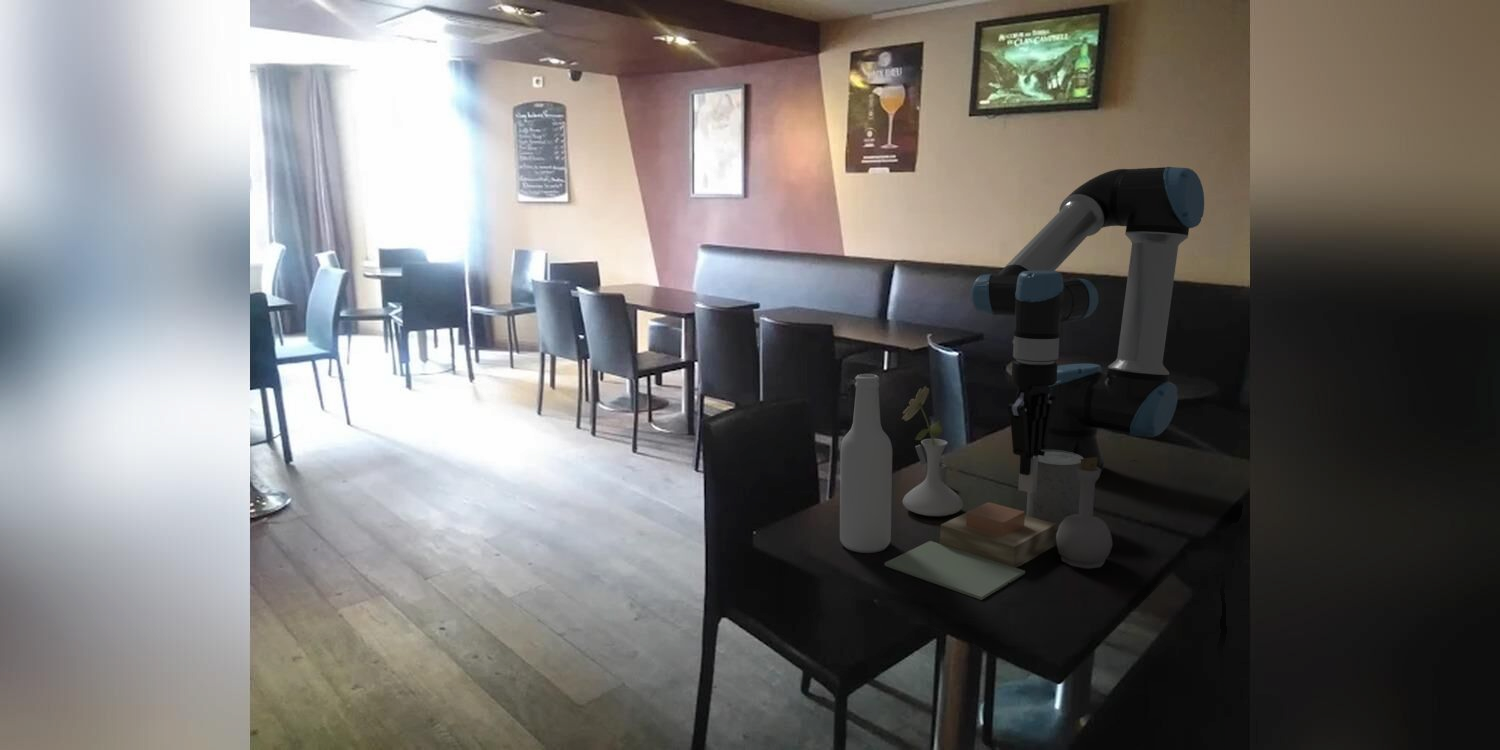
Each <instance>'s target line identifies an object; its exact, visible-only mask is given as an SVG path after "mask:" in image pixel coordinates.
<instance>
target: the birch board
mask: <svg viewBox="0 0 1500 750" xmlns="http://www.w3.org/2000/svg"><path fill="white" fill-rule="evenodd" d="M966 516H967V512H965V513H962V514H961V515H959V516H956V517H954V518H951V519H949V520H947V521H946V522H944V523H941V524H940V528H939V531H940V532H939V544H942V545H945V546H948V547H951V548H954V549H957V550H961V551H964V552H967V553H970V554H973V555H976V556H980V557H983V558H986V559H989V560H992V561H995V562H999V563H1002V564H1005V565H1008V566H1011V567H1014V568H1017V567H1018V568H1019V566H1020V567H1022V564H1023V565H1024V563H1025V564H1026V563H1028V562H1029V561H1031V560H1034V559H1035V558H1037V557H1038V556H1040V555H1041V554H1043V553H1045V552H1046V551H1048V550H1050V549H1052V548H1054V547H1055V546H1056V533H1057V530H1056V524H1055V523H1051V522H1047V521H1044V520H1040V519H1036V518H1032V517H1029V516H1026V515H1025V520H1024V526H1023V527H1021V528H1019V529H1017V530H1015V531H1013V532H1011V533H1009V534H1007V535H1006V536H1004V537H1002V536H998V535H995V534H991V533H988V532H985V531H981V530H978V529H974V528H971V527H967V526H966Z"/></svg>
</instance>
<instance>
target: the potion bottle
mask: <svg viewBox="0 0 1500 750" xmlns="http://www.w3.org/2000/svg"><path fill="white" fill-rule="evenodd" d="M1097 459H1098V457H1093V458H1085V459H1081V465H1080V466H1077V475H1078V478H1079V479H1080V481H1081V488H1080V504H1079V514H1073V515H1070V516H1067V517H1065V519H1064V520H1063V521H1062V522H1061V523H1060V525H1059V528H1058V530H1056V533H1055V542H1056V547H1057V551H1058V554H1059V555H1060V559H1061V562H1062V563H1065V564H1067V566H1070V567H1073V568H1080V569H1085V570H1091V569H1098V568H1099V569H1100V568H1102V566H1104V564H1105V562H1106V560H1107V558H1108V557H1109V556H1110V554H1111V550H1112V547H1113V537H1112V534H1111V530H1110V529H1109V527H1108V525H1107V523H1106V522H1105V521H1104V520H1102V518H1100V517H1099V516H1094V515H1093V514H1094V502H1095V486H1096V482H1097V481H1098V480H1099V478H1100V476H1101V474H1102V473H1101V469H1100V468H1098V467H1096V465H1097ZM1100 473H1101V474H1100Z"/></svg>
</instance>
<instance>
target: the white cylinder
mask: <svg viewBox="0 0 1500 750" xmlns="http://www.w3.org/2000/svg"><path fill="white" fill-rule="evenodd" d="M1041 451H1043V452H1045V454H1044V456H1041V455H1038V472H1037V488H1036V492H1034V493H1029V492H1027V493H1026V494H1027V498H1026V499H1027V500H1026V513H1025V516H1029V517H1032V518H1036V519H1040V520H1044V521H1047V522H1051V523H1055V524H1056V531H1057V530H1058V528H1059V525H1060V523H1061V522H1062V521H1063V520H1064V519H1065V517H1067V516H1070V515H1073V514H1079V504H1080V488H1081V481H1080V479H1079V478H1078V475H1077V466H1080V465H1081V459H1084V458H1083V457H1082V456H1080V455H1078V454H1075V453H1072V452H1067V451H1060V450H1041Z"/></svg>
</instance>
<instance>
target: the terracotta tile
mask: <svg viewBox="0 0 1500 750" xmlns="http://www.w3.org/2000/svg"><path fill="white" fill-rule="evenodd" d="M966 513H967V516H966V526H967V527H971V528H974V529H978V530H981V531H985V532H988V533H991V534H995V535H998V536H1002V537H1004V536H1006V535H1007V534H1009V533H1011V532H1013V531H1015V530H1017V529H1019V528H1021V527H1023V526H1024V520H1025V516H1026V511H1024V510H1020V509H1016V508H1013V507H1008V506H1004V505H1001V504H996V503H993V502H989V501H988V502H986V503H983V504H981V505H979V506H977V507H975V508H973V509H971V510H968V511H966Z"/></svg>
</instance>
